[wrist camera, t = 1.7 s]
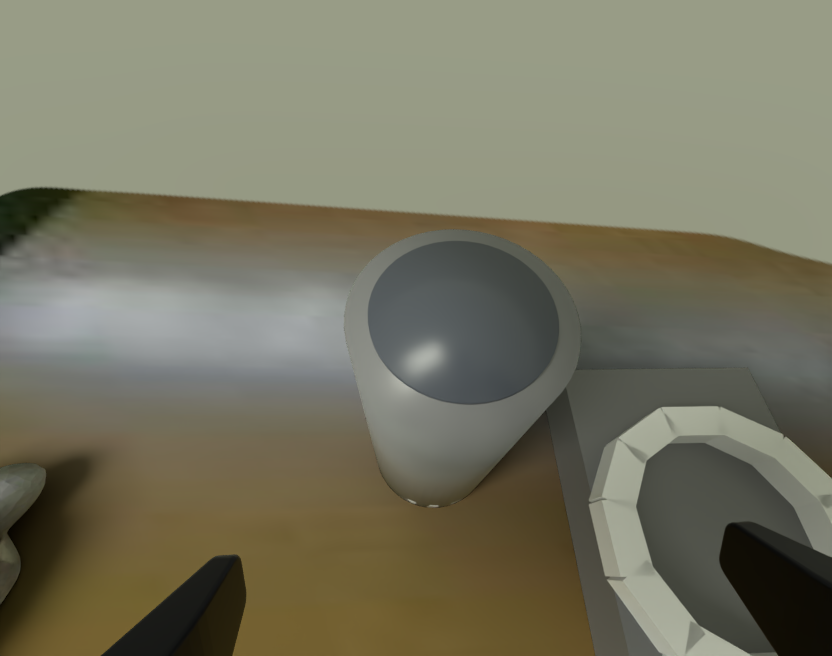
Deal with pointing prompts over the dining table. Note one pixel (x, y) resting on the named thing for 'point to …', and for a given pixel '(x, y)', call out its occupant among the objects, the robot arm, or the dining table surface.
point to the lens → (456, 356)
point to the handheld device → (15, 514)
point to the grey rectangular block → (676, 503)
